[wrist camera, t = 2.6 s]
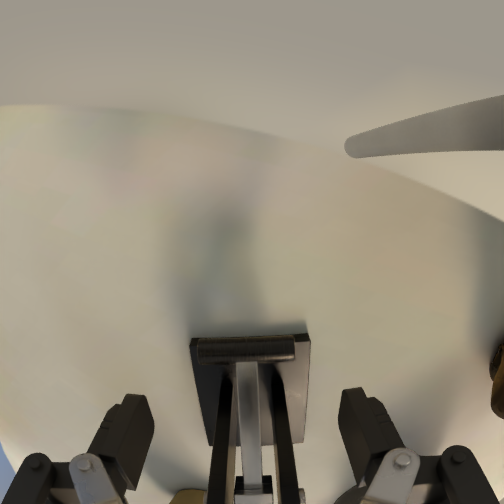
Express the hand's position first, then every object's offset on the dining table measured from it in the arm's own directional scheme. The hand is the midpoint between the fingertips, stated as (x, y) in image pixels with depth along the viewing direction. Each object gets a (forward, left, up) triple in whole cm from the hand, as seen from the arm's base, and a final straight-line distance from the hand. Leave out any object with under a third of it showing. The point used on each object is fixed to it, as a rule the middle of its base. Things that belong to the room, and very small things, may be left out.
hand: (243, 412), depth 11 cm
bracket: (+9, 0, -12) cm, 15 cm away
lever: (+5, 0, -3) cm, 6 cm away
